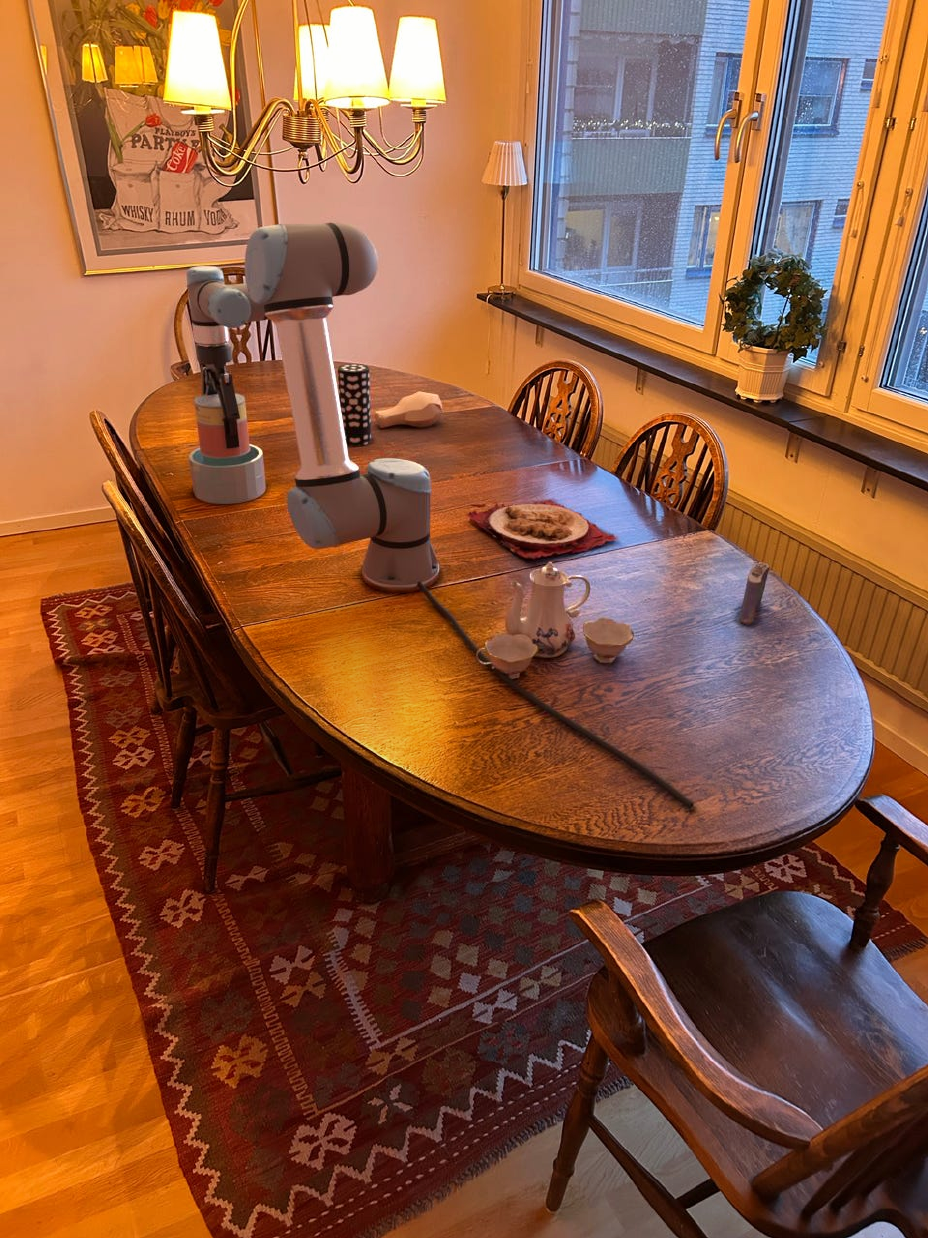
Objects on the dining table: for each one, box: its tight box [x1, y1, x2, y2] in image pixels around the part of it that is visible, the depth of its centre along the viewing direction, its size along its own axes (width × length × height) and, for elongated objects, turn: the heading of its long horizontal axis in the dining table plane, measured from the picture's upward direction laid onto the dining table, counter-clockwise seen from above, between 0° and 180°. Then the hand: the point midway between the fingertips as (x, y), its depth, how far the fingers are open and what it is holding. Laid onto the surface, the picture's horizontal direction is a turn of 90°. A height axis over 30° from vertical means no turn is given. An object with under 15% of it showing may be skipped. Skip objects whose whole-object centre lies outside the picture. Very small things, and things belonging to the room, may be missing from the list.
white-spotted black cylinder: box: [337, 363, 372, 447], centre depth 235 cm, size 8×8×20 cm
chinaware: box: [475, 561, 635, 680], centre depth 146 cm, size 28×17×17 cm, turn 114°
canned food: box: [193, 392, 250, 459], centre depth 200 cm, size 11×11×12 cm
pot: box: [188, 443, 267, 505], centre depth 206 cm, size 17×17×9 cm
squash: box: [374, 390, 443, 429], centre depth 251 cm, size 11×20×9 cm, turn 112°
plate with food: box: [464, 499, 619, 560], centre depth 192 cm, size 24×26×3 cm
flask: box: [738, 560, 771, 626], centre depth 161 cm, size 9×3×11 cm, turn 151°
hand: (224, 439), depth 202 cm, fingers closed on canned food, 11 cm apart
